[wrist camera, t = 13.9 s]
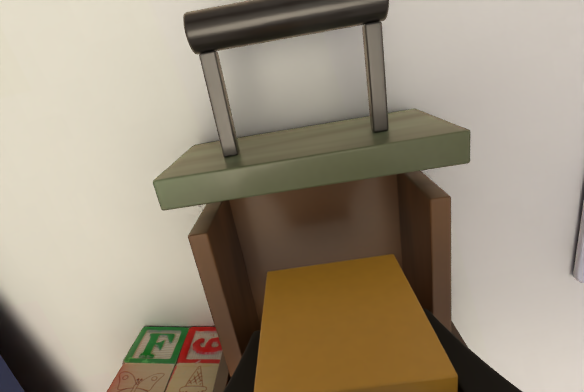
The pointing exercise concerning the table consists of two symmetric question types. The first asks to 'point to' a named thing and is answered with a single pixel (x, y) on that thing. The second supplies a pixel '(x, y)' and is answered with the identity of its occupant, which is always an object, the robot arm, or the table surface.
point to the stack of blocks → (170, 361)
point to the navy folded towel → (8, 379)
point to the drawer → (310, 176)
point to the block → (348, 332)
